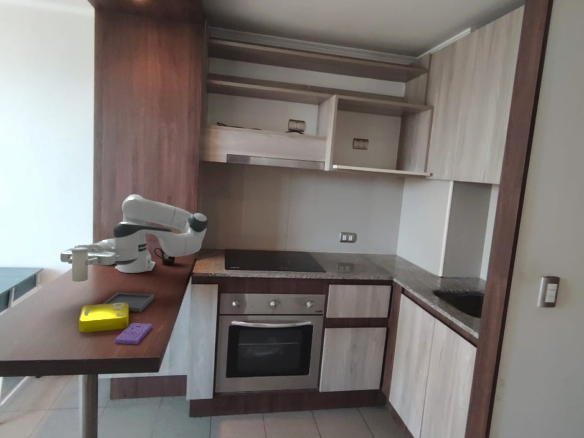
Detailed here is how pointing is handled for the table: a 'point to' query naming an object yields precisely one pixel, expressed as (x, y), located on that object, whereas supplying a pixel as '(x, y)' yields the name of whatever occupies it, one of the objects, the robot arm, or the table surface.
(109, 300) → the tray
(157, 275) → the table surface
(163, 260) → the coffee mug
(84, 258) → the tin
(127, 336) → the sponges
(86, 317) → the element tile
